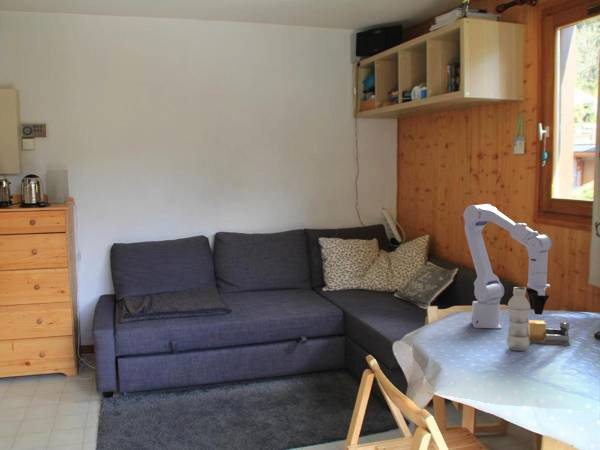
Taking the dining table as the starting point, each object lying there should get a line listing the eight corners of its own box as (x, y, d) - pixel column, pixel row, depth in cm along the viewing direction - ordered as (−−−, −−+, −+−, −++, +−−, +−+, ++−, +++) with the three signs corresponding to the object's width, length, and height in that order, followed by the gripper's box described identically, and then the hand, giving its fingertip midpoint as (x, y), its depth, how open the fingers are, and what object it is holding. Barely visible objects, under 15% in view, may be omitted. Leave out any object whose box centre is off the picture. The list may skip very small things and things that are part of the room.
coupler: (530, 343, 186) (530, 326, 185) (524, 333, 196) (525, 317, 195) (572, 345, 183) (573, 327, 183) (564, 335, 193) (565, 318, 192)
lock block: (529, 337, 189) (530, 323, 188) (527, 334, 192) (528, 320, 192) (546, 338, 188) (546, 323, 187) (543, 335, 191) (544, 320, 191)
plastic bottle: (531, 353, 176) (533, 291, 174) (508, 352, 178) (510, 290, 175) (527, 346, 183) (529, 286, 180) (505, 345, 184) (506, 285, 181)
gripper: (555, 276, 180) (554, 318, 181) (545, 267, 194) (544, 306, 195) (532, 275, 181) (530, 317, 183) (523, 266, 195) (522, 305, 197)
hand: (536, 311), depth 189 cm, fingers open, 6 cm apart
